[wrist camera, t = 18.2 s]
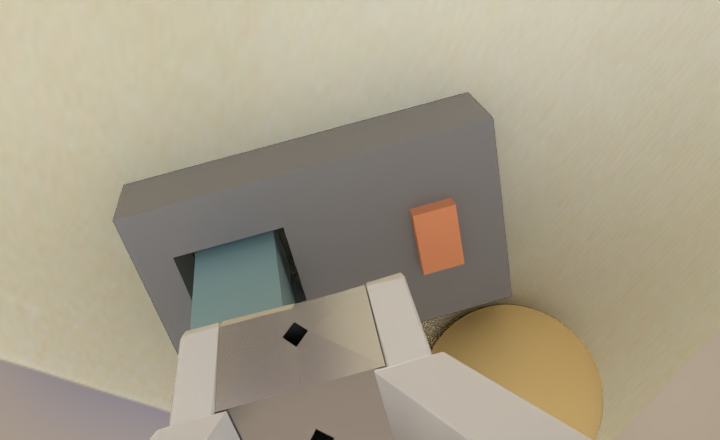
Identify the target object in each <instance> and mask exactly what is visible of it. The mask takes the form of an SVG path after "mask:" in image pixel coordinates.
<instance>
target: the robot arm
mask: <svg viewBox="0 0 720 440" xmlns="http://www.w3.org/2000/svg"><path fill="white" fill-rule="evenodd" d="M366 287H367V290H366ZM367 292H368V293H367ZM368 296H369V297H368ZM369 299H370V300H369ZM370 303H371V304H370ZM150 440H592V439H590V438H588V437H587V436H585V435H583V434H582V433H580V432H578V431H577V430H575V429H573V428H572V427H570V426H568V425H567V424H565V423H563V422H561V421H560V420H558V419H556V418H555V417H553V416H551V415H550V414H548V413H546V412H545V411H543V410H541V409H539V408H538V407H536V406H534V405H533V404H531V403H529V402H528V401H526V400H524V399H523V398H521V397H519V396H518V395H516V394H514V393H512V392H511V391H509V390H507V389H506V388H504V387H502V386H501V385H499V384H497V383H496V382H494V381H492V380H491V379H489V378H487V377H485V376H484V375H482V374H480V373H479V372H477V371H475V370H474V369H472V368H470V367H469V366H467V365H465V364H463V363H462V362H460V361H458V360H457V359H455V358H453V357H452V356H450V355H448V354H447V353H445V352H440V353H437V354H433V355H432V352H431V350H430V347H429V344H428V341H427V338H426V336H425V333H424V330H423V327H422V324H421V321H420V319H419V316H418V313H417V310H416V307H415V304H414V302H413V299H412V296H411V293H410V290H409V288H408V285H407V282H406V279H405V276H404V275H403V274H402V273H397V274H394V275H390V276H387V277H384V278H380V279H377V280H374V281H370V282H367V283H366V286H365V285H361V286H357V287H354V288H350V289H347V290H343V291H339V292H336V293H332V294H329V295H325V296H321V297H318V298H314V299H310V300H307V301H303V302H300V303H296V304H290V305H286V306H282V307H278V308H274V309H270V310H266V311H262V312H258V313H254V314H250V315H246V316H242V317H238V318H234V319H230V320H226V321H222V323H215V324H211V325H207V326H204V327H200V328H196V329H192V330H188V331H185V333H184V334H183V336H182V337H181V339H180V345H179V353H178V360H177V368H176V375H175V383H174V390H173V398H172V405H171V413H170V420H169V427H166V428H163V429H159V430H157V431H156V432H155V433H154V434H153V436H152V437H151V438H150Z"/></svg>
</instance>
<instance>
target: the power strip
mask: <svg viewBox="0 0 720 440" xmlns="http://www.w3.org/2000/svg"><path fill="white" fill-rule="evenodd" d="M113 222H114V225H115V227H116V229H117V231H118V233H119V235H120V237H121V239H122V241H123V243H124V245H125V247H126V249H127V251H128V253H129V255H130V257H131V259H132V261H133V264H134V266H135V268H136V270H137V272H138V274H139V276H140V278H141V280H142V282H143V284H144V286H145V288H146V290H147V292H148V294H149V296H150V298H151V301H152V303H153V305H154V307H155V309H156V311H157V313H158V315H159V317H160V319H161V321H162V323H163V325H164V327H165V329H166V331H167V333H168V335H169V338H170V340H171V342H172V344H173V346H174V348H175V350H176V352H177V354H178V353H179V345H180V339H181V337H182V336H183V334H184V333H185V331H188V330H190V324H191V310H192V296H193V283H194V269H195V260H194V258H193V256H192V252H196V251H200V250H203V249H207V248H211V247H214V246H218V245H221V244H225V243H229V242H232V241H236V240H240V239H243V238H247V237H250V236H254V235H258V234H261V233H265V232H269V231H272V230H276V229H279V228H284V231H285V235H286V238H287V241H288V244H289V247H290V250H291V253H292V256H293V259H294V262H295V266H296V269H297V272H298V275H297V276H294V277H291V278H292V285H293V291H294V298H295V304H296V303H300V302H303V301H307V300H310V299H314V298H318V297H321V296H325V295H329V294H332V293H336V292H339V291H343V290H347V289H350V288H354V287H357V286H361V285H365V286H366V283H367V282H370V281H374V280H377V279H380V278H384V277H387V276H390V275H394V274H397V273H402V274H403V275H404V276H405V279H406V282H407V285H408V288H409V290H410V293H411V296H412V299H413V302H414V304H415V307H416V310H417V313H418V316H419V319H420V321H421V322H423V321H426V320H430V319H433V318H437V317H440V316H444V315H447V314H451V313H454V312H458V311H461V310H465V309H468V308H472V307H475V306H479V305H482V304H486V303H489V302H493V301H496V300H500V299H503V298H507V297H510V296H512V292H511V282H510V273H509V263H508V254H507V244H506V235H505V225H504V216H503V206H502V197H501V187H500V178H499V168H498V159H497V149H496V140H495V130H494V121H493V117H492V116H491V115H490V114H489V113H488V112H487V111H486V110H485V109H484V108H483V107H482V106H481V105H480V104H479V103H478V102H477V101H476V100H475V99H474V98H473V97H472V96H471V95H470V94H469V93H464V94H460V95H457V96H453V97H449V98H445V99H442V100H438V101H434V102H431V103H427V104H423V105H419V106H416V107H412V108H408V109H405V110H401V111H397V112H393V113H390V114H386V115H382V116H379V117H375V118H371V119H367V120H364V121H360V122H356V123H353V124H349V125H345V126H341V127H338V128H334V129H330V130H326V131H323V132H319V133H315V134H312V135H308V136H304V137H300V138H297V139H293V140H289V141H286V142H282V143H278V144H274V145H271V146H267V147H263V148H260V149H256V150H252V151H248V152H245V153H241V154H237V155H234V156H230V157H226V158H222V159H219V160H215V161H211V162H208V163H204V164H200V165H196V166H193V167H189V168H185V169H181V170H178V171H174V172H170V173H167V174H163V175H159V176H155V177H152V178H148V179H144V180H141V181H137V182H133V183H129V184H126V185H123V188H122V191H121V195H120V198H119V201H118V205H117V208H116V211H115V215H114V218H113ZM366 290H367V287H366ZM367 293H368V292H367ZM368 297H369V296H368ZM369 300H370V299H369ZM370 304H371V303H370Z"/></svg>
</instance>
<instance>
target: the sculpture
mask: <svg viewBox="0 0 720 440" xmlns="http://www.w3.org/2000/svg"><path fill="white" fill-rule="evenodd" d="M431 352H432V355H433V354H437V353H440V352H445V353H447V354H448V355H450V356H452V357H453V358H455V359H457V360H458V361H460V362H462V363H463V364H465V365H467V366H469V367H470V368H472V369H474V370H475V371H477V372H479V373H480V374H482V375H484V376H485V377H487V378H489V379H491V380H492V381H494V382H496V383H497V384H499V385H501V386H502V387H504V388H506V389H507V390H509V391H511V392H512V393H514V394H516V395H518V396H519V397H521V398H523V399H524V400H526V401H528V402H529V403H531V404H533V405H534V406H536V407H538V408H539V409H541V410H543V411H545V412H546V413H548V414H550V415H551V416H553V417H555V418H556V419H558V420H560V421H561V422H563V423H565V424H567V425H568V426H570V427H572V428H573V429H575V430H577V431H578V432H580V433H582V434H583V435H585V436H587V437H588V438H590V439H592V440H595V438H596V436H597V434H598V431H599V428H600V424H601V420H602V413H603V389H602V383H601V379H600V375H599V372H598V369H597V366H596V364H595V362H594V359H593V357H592V356H591V354H590V352H589V351H588V349H587V348H586V346H585V345H584V344H583V342H582V341H581V340H580V339H579V338H578V337H577V336H576V335H575V334H574V333H573V332H572V331H571V330H570V329H569V328H568V327H566V326H565V325H564V324H562V323H561V322H559V321H558V320H556V319H554V318H553V317H551V316H549V315H547V314H545V313H543V312H540V311H537V310H535V309H531V308H528V307H524V306H518V305H495V306H489V307H485V308H482V309H479V310H476V311H474V312H471V313H469V314H467V315H466V316H464V317H462V318H461V319H459V320H458V321H456V322H455V323H454V324H453V325H452V326H450V327H449V328H448V329H447V330H446V331H445V332H444V333H443V334H442V336H441V337H440V338H439V339H438V341H437V342H436V344H435V345H434V347H433V349H432V351H431Z"/></svg>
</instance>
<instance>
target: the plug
mask: <svg viewBox="0 0 720 440" xmlns="http://www.w3.org/2000/svg"><path fill="white" fill-rule="evenodd" d="M290 304H295V298H294V291H293V285H292V278H291V272H290V266H289V262H288V259H287V256H286V253H285V250H284V247H283V244H282V241H281V238H280V235H279V232H278V229H276V230H272V231H269V232H265V233H261V234H258V235H254V236H250V237H247V238H243V239H240V240H236V241H232V242H229V243H225V244H221V245H218V246H214V247H211V248H207V249H203V250H200V251H196V255H195V269H194V283H193V296H192V310H191V324H190V330H192V329H196V328H200V327H204V326H207V325H211V324H215V323H222V321H226V320H230V319H234V318H238V317H242V316H246V315H250V314H254V313H258V312H262V311H266V310H270V309H274V308H278V307H282V306H286V305H290Z"/></svg>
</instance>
